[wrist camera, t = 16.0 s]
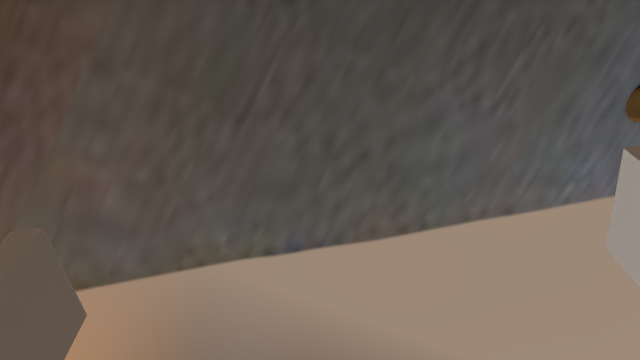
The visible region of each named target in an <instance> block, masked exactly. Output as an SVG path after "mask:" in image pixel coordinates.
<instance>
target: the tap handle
mask: <svg viewBox="0 0 640 360" xmlns="http://www.w3.org/2000/svg"><path fill="white" fill-rule="evenodd" d="M626 112H627V115H628V118H629V119H631V120H632V121H634V122H640V88H637V89H636V90H635V91H634V92H633V93H632V94H631V95H630V97H629V99H628V101H627V106H626Z"/></svg>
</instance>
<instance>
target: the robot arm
mask: <svg viewBox="0 0 640 360" xmlns="http://www.w3.org/2000/svg"><path fill="white" fill-rule="evenodd" d="M606 249H607V250H608V251H609V253H610V254H611V255H612V256H613V257H614V258H615V260H616V261H617V262H618V263H619V264H620V265H621V267H622V268H623V269H624V270H625V271H626V272H627V273H628V275H629V276H630V277H631V278H632V279H633V280H634V282H635V283H636V284H637V285H638V286H639V287H640V146H638V147H631V148H624V150H623V155H622V161H621V166H620V172H619V177H618V183H617V188H616V194H615V200H614V205H613V210H612V216H611V222H610V228H609V232H608V238H607V244H606ZM86 316H87V315H86V312H85V310H84V308H83V306H82V305H81V302H80V301H79V298H78V296H77V294H76V292H75V290H74V288H73V286H72V284H71V282H70V280H69V279H68V277H67V275H66V273H65V271H64V269H63V267H62V265H61V263H60V261H59V259H58V257H57V255H56V253H55V251H54V249H53V247H52V245H51V243H50V241H49V239H48V237H47V235H46V233H45V231H44V229H43V228H36V229H28V230H21V231H13V232H10V233H9V234H8V235H7V237H6V238H5V239H4V240H3V241H2V242H1V244H0V360H64V359H65V357H66V355H67V353H68V351H69V349H70V347H71V345H72V343H73V341H74V339H75V337H76V335H77V333H78V331H79V329H80V327H81V325H82V324H83V321H84V319H85V317H86Z"/></svg>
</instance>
